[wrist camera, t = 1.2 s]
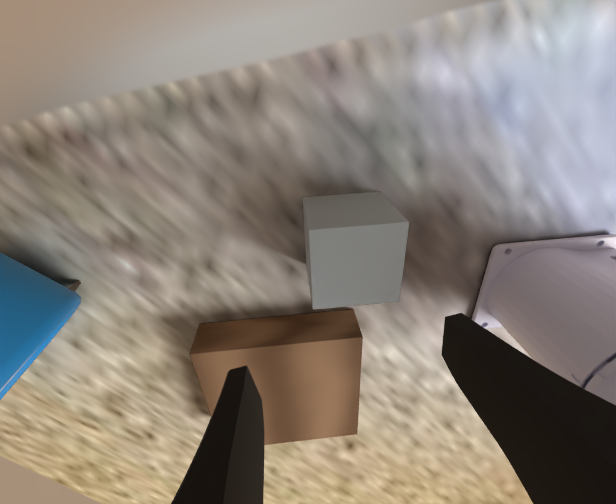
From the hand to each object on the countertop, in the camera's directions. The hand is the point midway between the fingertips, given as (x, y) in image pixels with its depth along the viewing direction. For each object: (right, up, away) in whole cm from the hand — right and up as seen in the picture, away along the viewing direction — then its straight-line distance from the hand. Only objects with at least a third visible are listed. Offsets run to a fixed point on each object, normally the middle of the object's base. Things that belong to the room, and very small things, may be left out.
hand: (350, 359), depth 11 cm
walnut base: (-4, -6, +16) cm, 17 cm away
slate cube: (+1, +5, +10) cm, 11 cm away
